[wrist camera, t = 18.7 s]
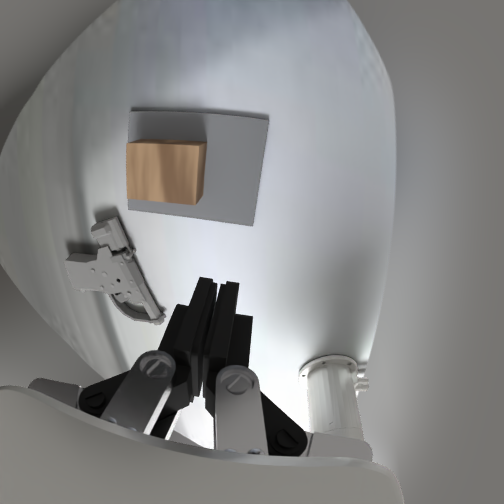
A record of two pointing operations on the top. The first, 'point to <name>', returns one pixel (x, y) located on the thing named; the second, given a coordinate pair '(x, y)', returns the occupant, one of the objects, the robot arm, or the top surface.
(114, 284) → the pistol
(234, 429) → the robot arm
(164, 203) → the rubber mat
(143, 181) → the wooden block
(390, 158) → the top surface
